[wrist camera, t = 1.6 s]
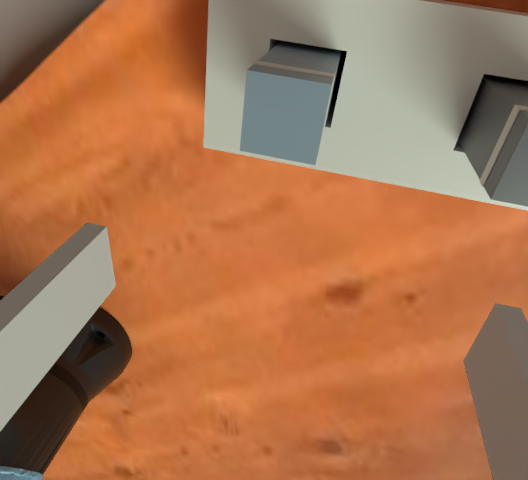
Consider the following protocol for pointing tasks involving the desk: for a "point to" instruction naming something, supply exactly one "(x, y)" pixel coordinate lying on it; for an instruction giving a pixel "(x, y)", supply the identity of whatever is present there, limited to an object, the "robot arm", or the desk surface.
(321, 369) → the desk surface
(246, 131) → the slate plug
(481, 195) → the block
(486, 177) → the charcoal plug
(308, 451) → the desk surface
